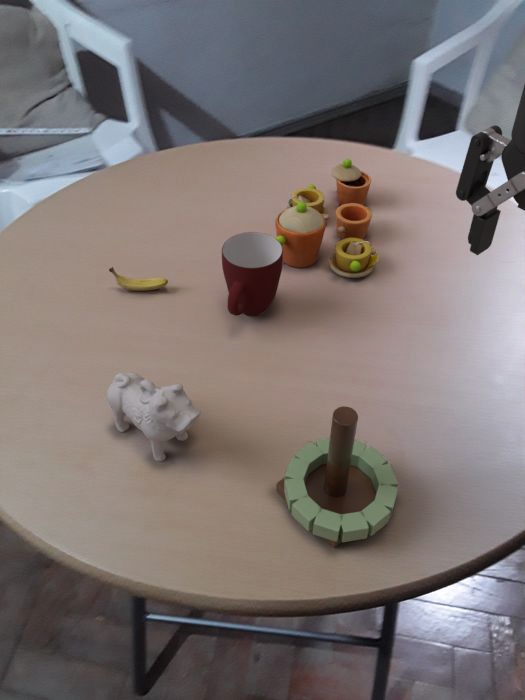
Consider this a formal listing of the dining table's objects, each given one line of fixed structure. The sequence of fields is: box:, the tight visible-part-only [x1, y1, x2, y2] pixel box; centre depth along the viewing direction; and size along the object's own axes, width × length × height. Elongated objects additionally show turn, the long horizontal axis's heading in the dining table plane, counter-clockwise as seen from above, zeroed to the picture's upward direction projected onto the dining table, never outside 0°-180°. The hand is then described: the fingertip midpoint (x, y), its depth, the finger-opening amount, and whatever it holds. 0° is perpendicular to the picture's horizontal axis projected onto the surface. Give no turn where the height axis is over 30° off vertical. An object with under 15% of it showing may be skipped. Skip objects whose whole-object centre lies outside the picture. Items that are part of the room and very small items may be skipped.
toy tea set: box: [274, 158, 379, 279], centre depth 106 cm, size 26×16×10 cm, turn 173°
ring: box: [284, 437, 399, 543], centre depth 72 cm, size 12×12×2 cm
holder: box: [275, 405, 376, 549], centre depth 69 cm, size 9×9×14 cm
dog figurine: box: [105, 372, 202, 462], centre depth 76 cm, size 5×13×11 cm, turn 51°
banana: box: [108, 266, 169, 291], centre depth 97 cm, size 8×2×4 cm, turn 90°
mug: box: [221, 231, 284, 317], centre depth 92 cm, size 11×8×10 cm
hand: (521, 272), depth 57 cm, fingers open, 8 cm apart
